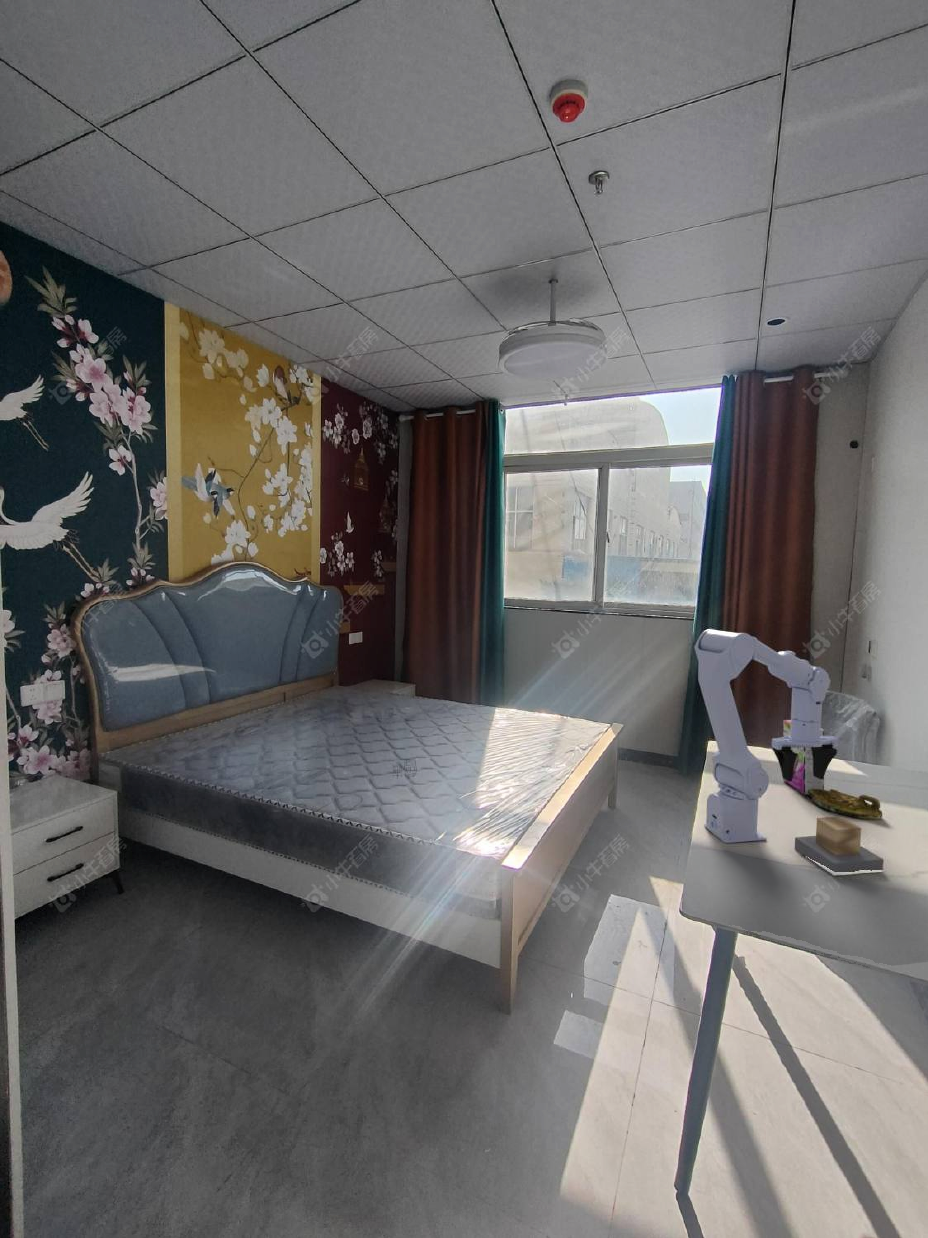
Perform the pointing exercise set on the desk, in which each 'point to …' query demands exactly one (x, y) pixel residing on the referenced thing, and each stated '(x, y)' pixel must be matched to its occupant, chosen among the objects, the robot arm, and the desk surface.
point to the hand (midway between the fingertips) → (802, 778)
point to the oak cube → (838, 835)
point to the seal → (847, 803)
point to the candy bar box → (803, 766)
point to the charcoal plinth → (838, 857)
